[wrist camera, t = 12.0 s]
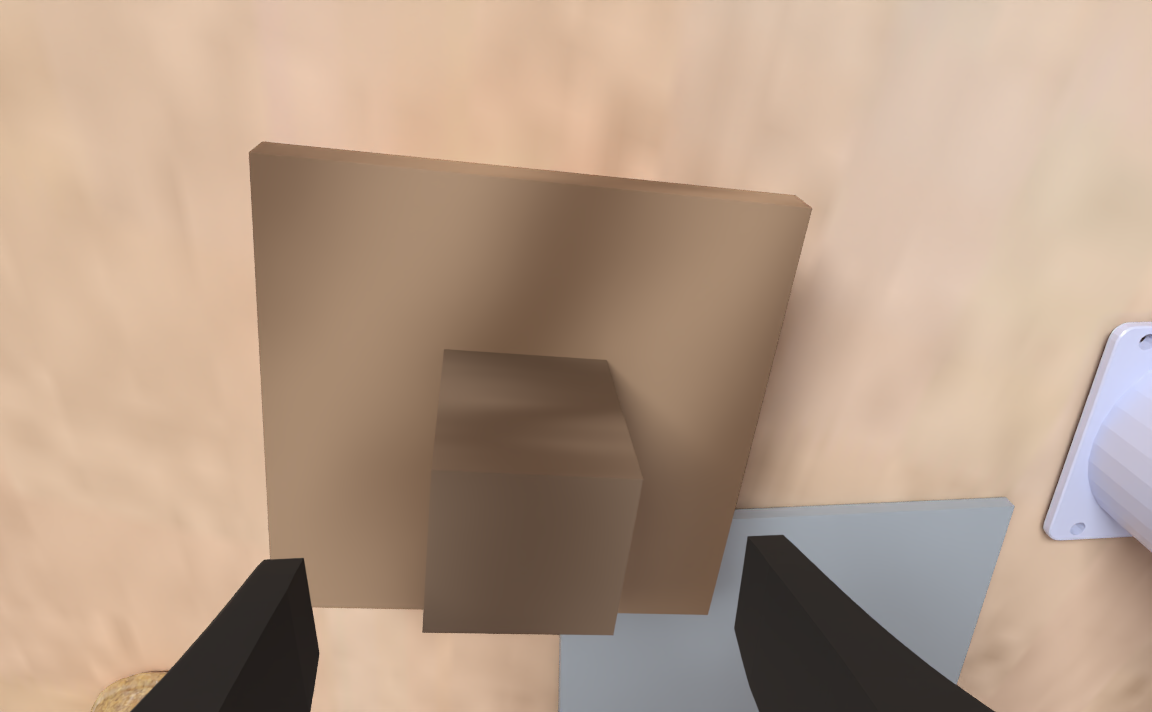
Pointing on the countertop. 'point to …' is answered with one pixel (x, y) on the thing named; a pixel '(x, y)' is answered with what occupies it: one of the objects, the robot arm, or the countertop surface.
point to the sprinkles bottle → (126, 692)
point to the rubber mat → (847, 557)
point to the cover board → (498, 291)
